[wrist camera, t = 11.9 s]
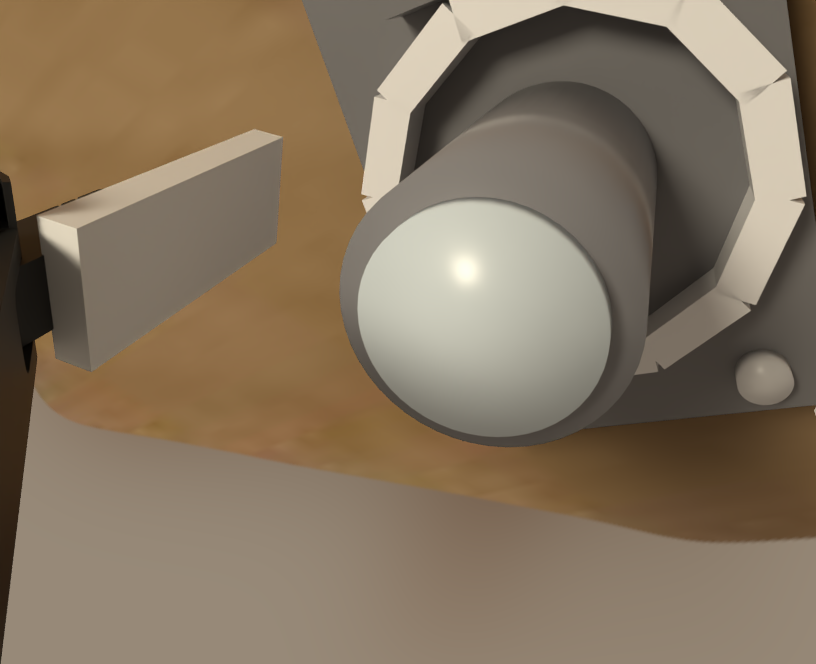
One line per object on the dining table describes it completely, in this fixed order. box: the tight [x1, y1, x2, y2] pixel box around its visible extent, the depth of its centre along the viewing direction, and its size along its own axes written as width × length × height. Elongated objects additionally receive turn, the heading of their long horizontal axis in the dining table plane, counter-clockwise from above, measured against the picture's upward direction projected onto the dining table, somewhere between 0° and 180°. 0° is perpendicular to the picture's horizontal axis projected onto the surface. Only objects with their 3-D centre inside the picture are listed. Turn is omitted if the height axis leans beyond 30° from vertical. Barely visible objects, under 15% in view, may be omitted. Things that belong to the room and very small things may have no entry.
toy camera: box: [302, 0, 816, 441], centre depth 23 cm, size 18×13×6 cm
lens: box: [340, 81, 657, 447], centre depth 17 cm, size 6×6×10 cm
